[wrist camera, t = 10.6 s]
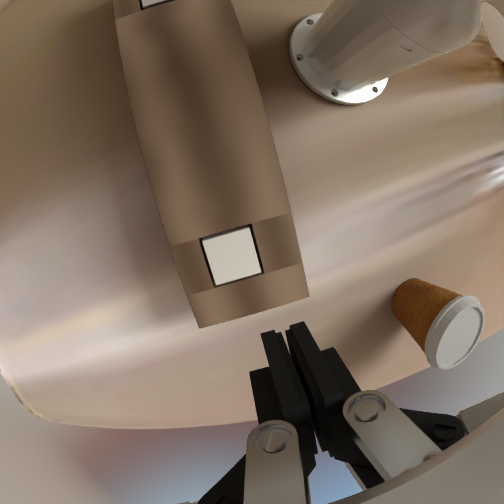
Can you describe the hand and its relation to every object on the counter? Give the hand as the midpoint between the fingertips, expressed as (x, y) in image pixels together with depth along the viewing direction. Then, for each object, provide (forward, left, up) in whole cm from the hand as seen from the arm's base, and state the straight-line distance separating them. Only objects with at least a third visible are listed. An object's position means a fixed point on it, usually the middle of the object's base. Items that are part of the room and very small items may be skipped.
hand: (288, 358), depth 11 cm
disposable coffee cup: (-21, +15, -22) cm, 34 cm away
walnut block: (+1, -14, -22) cm, 26 cm away
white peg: (+1, 0, -22) cm, 22 cm away
